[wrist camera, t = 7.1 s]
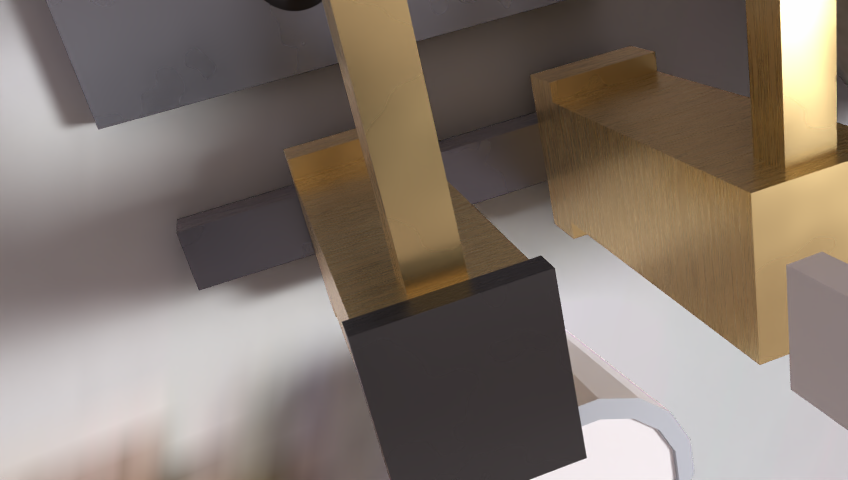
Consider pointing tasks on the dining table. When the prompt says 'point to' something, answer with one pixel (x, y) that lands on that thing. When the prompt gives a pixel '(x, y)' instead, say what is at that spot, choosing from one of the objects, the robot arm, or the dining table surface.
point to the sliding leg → (430, 279)
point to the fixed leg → (707, 169)
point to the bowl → (842, 39)
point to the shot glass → (622, 427)
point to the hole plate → (217, 45)
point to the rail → (285, 224)
